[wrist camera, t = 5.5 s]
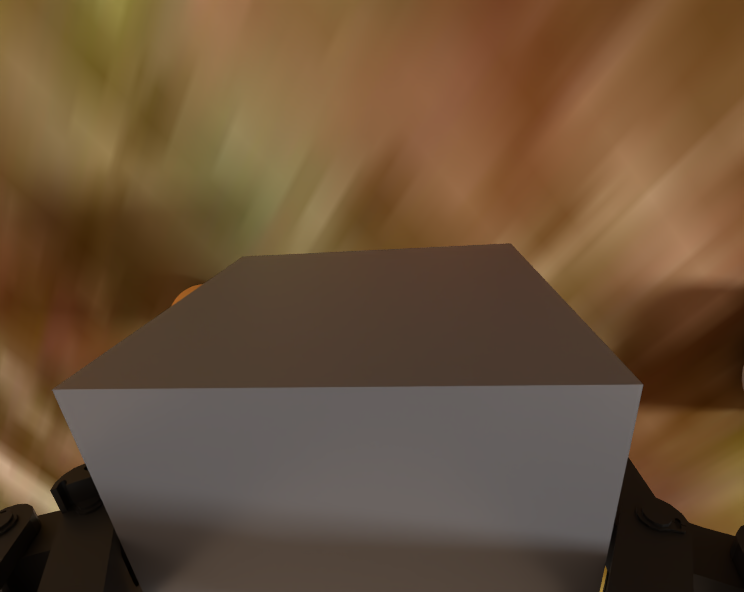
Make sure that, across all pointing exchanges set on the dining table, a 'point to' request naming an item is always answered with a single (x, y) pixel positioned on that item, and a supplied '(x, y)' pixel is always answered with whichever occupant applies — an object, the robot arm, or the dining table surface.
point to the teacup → (743, 377)
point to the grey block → (361, 429)
